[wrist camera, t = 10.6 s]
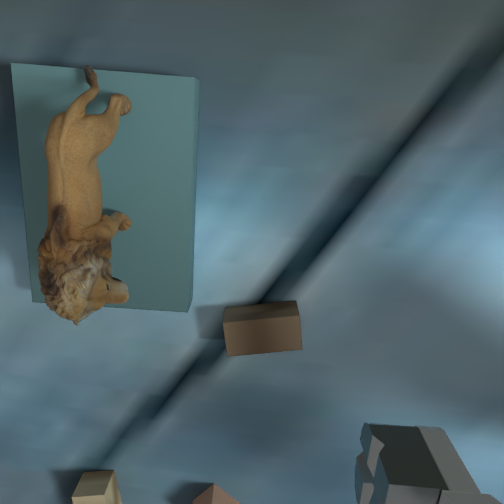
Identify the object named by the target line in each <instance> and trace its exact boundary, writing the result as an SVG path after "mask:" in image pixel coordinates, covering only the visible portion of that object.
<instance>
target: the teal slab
mask: <svg viewBox="0 0 504 504" xmlns="http://www.w3.org/2000/svg"><path fill="white" fill-rule="evenodd" d="M93 70H94V69H93ZM11 71H12V82H13V93H14V104H15V115H16V126H17V137H18V148H19V159H20V170H21V181H22V192H23V203H24V214H25V225H26V236H27V247H28V258H29V269H30V280H31V291H32V302H40V303H45V296H44V295H43V294H42V292H41V290H40V288H41V287H42V286H40V280H39V277H38V273H39V268H38V264H39V262H38V260H37V256H38V255H39V254H38V252H37V248H38V247H39V243H40V241H41V239H42V238H44V236H45V231H46V229H47V225H48V219H47V183H48V166H47V159H46V155H45V139H46V134H47V131H48V127H49V124H50V122H51V120H52V119H53V118H54V117H55V116H56V115H57V114H59V113H61V112H66V110H67V109H68V107H69V106H70V105H71V103H72V102H73V101H75V99H76V98H77V97H78V96H80V95H81V94H83V93H84V92H86V91H87V90H89V89H90V88H91V87H90V86H89V84H88V83H87V82H86V76H85V72H84V69H82V68H69V67H57V66H44V65H32V64H19V63H11ZM94 72H95V73H96V74H97V83H98V85H99V92H98V94H97V95H96V97H95V98H94V99H93V100H92V101H91V102H90V103H89V104H88V105H86V107H85V111H86V114H87V115H90V114H102V113H103V112H104V111H105V110H106V109H107V107H108V101H109V98H110V96H111V95H113V94H116V93H119V94H123V95H125V96H127V97H128V98H129V100H130V102H131V110H130V112H129V113H128V114H126V115H124V116H120V118H119V126H118V130H117V133H116V135H115V137H114V139H113V140H112V142H111V144H110V146H109V147H108V148H107V149H106V150H105V151H103V152H102V153H101V154H100V155H99V156H98V158H97V167H98V170H99V174H100V178H101V185H102V215H108V216H111V214H113V213H114V212H118V213H124V214H125V215H126V216H128V217H129V219H130V220H131V222H132V224H131V225H130V227H129V229H127V230H125V231H124V232H122V231H120V230H118V231H117V233H116V234H115V236H114V237H113V238H112V239H111V247H112V256H111V259H110V260H109V261H110V263H111V268H112V277H115V278H118V279H119V280H122V281H123V282H124V283H125V284H126V285H127V287H128V293H129V298H128V300H127V301H126V302H125V303H123V304H105V305H104V306H103V307H114V308H129V309H144V310H159V311H174V312H188V310H189V307H190V304H191V302H192V291H193V262H194V232H195V202H196V173H197V143H198V113H199V83H200V81H199V80H198V79H196V78H195V77H182V76H170V75H157V74H145V73H132V72H120V71H107V70H94Z"/></svg>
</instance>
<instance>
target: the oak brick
mask: <svg viewBox="0 0 504 504" xmlns="http://www.w3.org/2000/svg"><path fill="white" fill-rule="evenodd" d="M71 498H72V501H73V504H122V501H121V497H120V493H119V489H118V484H117V480H116V476H115V472H114V470H107V471H94V472H83V474H82V476H81V478H80V481H79V483H78V485H77V487H76V489H75V491H74V493H73V495H72V497H71Z"/></svg>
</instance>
